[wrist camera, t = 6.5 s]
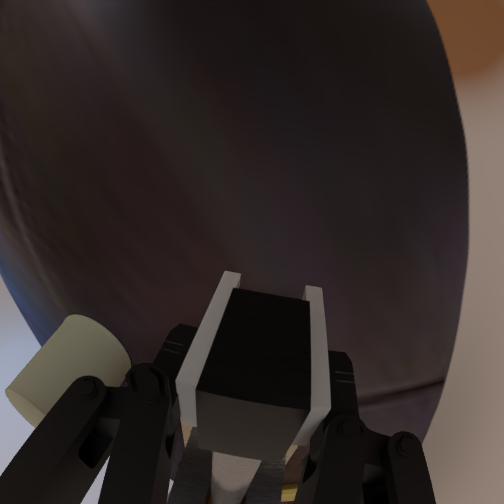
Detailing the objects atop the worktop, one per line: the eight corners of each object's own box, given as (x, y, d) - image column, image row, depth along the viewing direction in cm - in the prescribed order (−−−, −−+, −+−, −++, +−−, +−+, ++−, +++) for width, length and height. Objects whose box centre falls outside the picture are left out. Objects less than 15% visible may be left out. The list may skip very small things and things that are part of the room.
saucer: (278, 493, 42) (277, 502, 40) (256, 482, 39) (254, 492, 37) (318, 489, 39) (317, 498, 37) (299, 478, 36) (298, 488, 34)
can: (139, 385, 28) (96, 470, 17) (78, 364, 29) (31, 432, 18) (120, 325, 24) (51, 423, 13) (53, 305, 25) (-13, 377, 14)
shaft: (233, 287, 11) (195, 389, 7) (309, 301, 11) (310, 410, 6) (214, 484, 23) (205, 521, 19) (241, 489, 23) (234, 526, 18)
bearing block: (177, 349, 24) (113, 486, 11) (333, 377, 23) (334, 528, 10) (188, 455, 36) (165, 527, 23) (277, 472, 34) (265, 547, 22)
